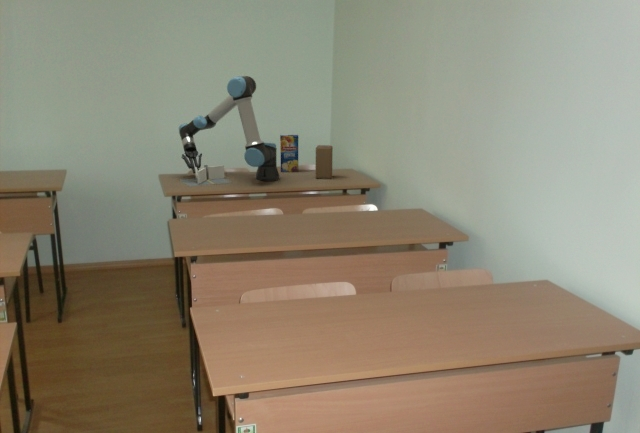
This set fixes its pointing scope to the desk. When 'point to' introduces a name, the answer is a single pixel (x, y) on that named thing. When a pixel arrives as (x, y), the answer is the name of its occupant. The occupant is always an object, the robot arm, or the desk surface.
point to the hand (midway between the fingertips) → (197, 177)
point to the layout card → (207, 182)
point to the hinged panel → (201, 175)
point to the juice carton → (289, 153)
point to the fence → (214, 172)
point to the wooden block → (324, 161)
